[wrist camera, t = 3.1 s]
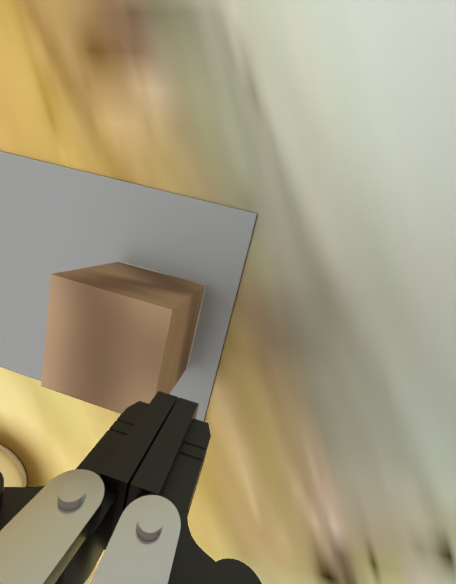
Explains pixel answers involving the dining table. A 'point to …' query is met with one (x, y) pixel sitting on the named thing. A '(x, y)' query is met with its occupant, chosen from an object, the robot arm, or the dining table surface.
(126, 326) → the walnut cube
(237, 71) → the dining table surface
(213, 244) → the mat
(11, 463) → the lidded jar
